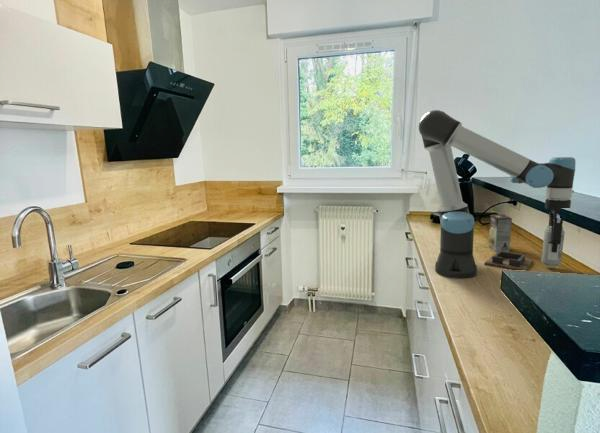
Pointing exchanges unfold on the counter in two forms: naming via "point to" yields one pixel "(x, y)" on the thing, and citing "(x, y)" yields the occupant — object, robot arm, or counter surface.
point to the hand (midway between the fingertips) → (551, 257)
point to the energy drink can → (546, 246)
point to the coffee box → (500, 232)
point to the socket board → (509, 261)
